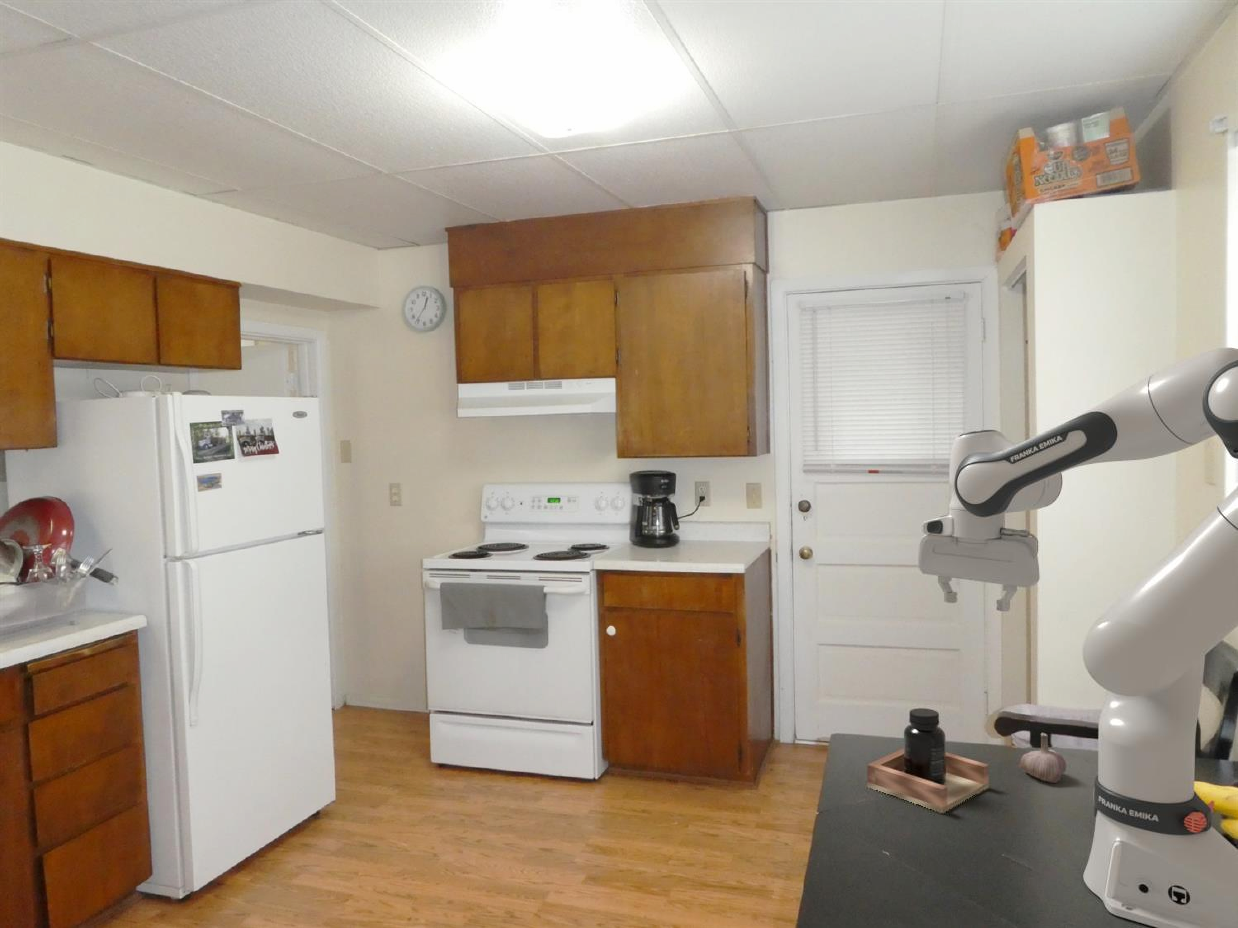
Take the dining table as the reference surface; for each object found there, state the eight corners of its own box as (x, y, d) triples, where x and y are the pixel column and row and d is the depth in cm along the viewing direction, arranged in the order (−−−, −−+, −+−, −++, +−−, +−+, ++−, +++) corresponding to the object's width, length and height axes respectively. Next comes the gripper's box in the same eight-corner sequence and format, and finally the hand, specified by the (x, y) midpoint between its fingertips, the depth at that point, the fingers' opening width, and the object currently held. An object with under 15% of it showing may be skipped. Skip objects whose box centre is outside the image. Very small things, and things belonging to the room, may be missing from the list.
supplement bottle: (940, 773, 157) (940, 706, 156) (950, 789, 150) (950, 719, 150) (900, 772, 158) (900, 705, 157) (908, 788, 151) (908, 718, 150)
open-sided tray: (988, 787, 153) (988, 764, 153) (942, 814, 143) (942, 789, 143) (915, 764, 164) (914, 743, 164) (867, 787, 154) (867, 764, 154)
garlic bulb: (1063, 789, 152) (1063, 743, 152) (1016, 780, 156) (1017, 735, 156) (1068, 773, 159) (1068, 729, 158) (1023, 766, 163) (1023, 722, 162)
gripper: (1047, 529, 146) (1046, 613, 147) (932, 519, 162) (932, 595, 162) (1028, 532, 142) (1028, 619, 143) (913, 522, 158) (913, 600, 158)
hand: (976, 606), depth 153 cm, fingers open, 8 cm apart
